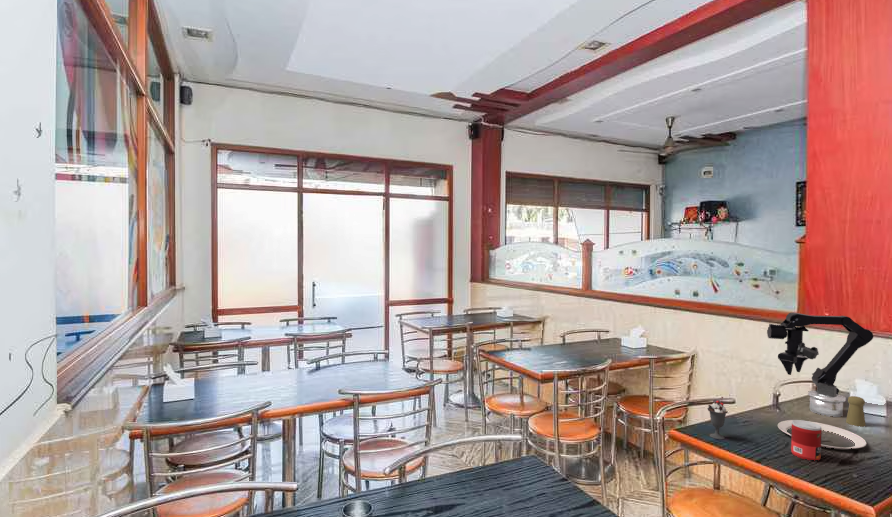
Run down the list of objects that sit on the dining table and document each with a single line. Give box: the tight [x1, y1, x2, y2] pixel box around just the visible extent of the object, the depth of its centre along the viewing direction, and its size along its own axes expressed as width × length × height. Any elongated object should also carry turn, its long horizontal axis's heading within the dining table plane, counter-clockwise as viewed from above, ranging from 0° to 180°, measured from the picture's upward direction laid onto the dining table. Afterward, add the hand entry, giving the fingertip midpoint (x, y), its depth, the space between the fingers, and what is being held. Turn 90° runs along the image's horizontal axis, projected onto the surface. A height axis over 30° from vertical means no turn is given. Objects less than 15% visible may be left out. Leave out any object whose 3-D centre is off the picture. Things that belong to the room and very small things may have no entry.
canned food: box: [790, 419, 823, 462], centre depth 154 cm, size 8×8×11 cm
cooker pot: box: [809, 396, 844, 418], centre depth 196 cm, size 11×11×7 cm
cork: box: [845, 395, 867, 428], centre depth 183 cm, size 6×6×11 cm
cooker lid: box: [807, 383, 847, 403], centre depth 196 cm, size 13×13×6 cm
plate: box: [777, 419, 867, 450], centre depth 170 cm, size 26×26×2 cm
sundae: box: [707, 396, 729, 441], centre depth 169 cm, size 7×7×15 cm
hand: (793, 373), depth 211 cm, fingers open, 9 cm apart
